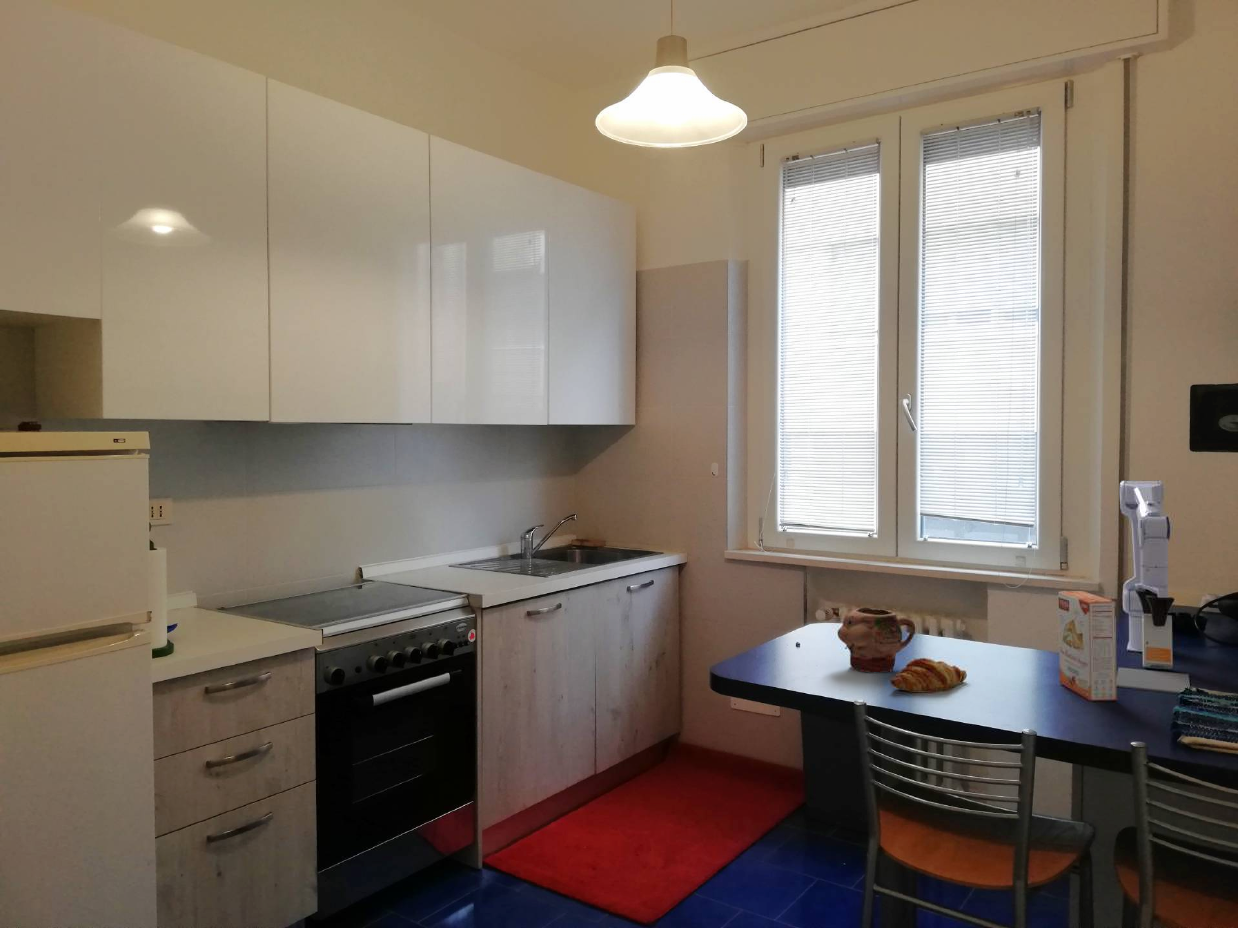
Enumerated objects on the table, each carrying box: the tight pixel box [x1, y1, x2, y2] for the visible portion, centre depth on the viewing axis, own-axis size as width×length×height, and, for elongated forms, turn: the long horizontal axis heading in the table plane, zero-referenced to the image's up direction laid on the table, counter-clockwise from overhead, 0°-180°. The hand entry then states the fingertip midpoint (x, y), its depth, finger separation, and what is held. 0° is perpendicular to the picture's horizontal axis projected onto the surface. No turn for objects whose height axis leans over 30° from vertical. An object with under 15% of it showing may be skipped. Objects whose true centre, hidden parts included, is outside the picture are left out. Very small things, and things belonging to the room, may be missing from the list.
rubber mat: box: [1116, 667, 1191, 695], centre depth 203 cm, size 18×14×1 cm
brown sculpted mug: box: [837, 607, 916, 673], centre depth 218 cm, size 20×12×14 cm, turn 108°
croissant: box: [890, 657, 968, 693], centre depth 201 cm, size 21×10×8 cm, turn 116°
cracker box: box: [1058, 590, 1118, 702], centre depth 194 cm, size 14×6×21 cm, turn 178°
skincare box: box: [1142, 614, 1174, 670], centre depth 215 cm, size 6×4×12 cm
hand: (1154, 622), depth 217 cm, fingers open, 7 cm apart
